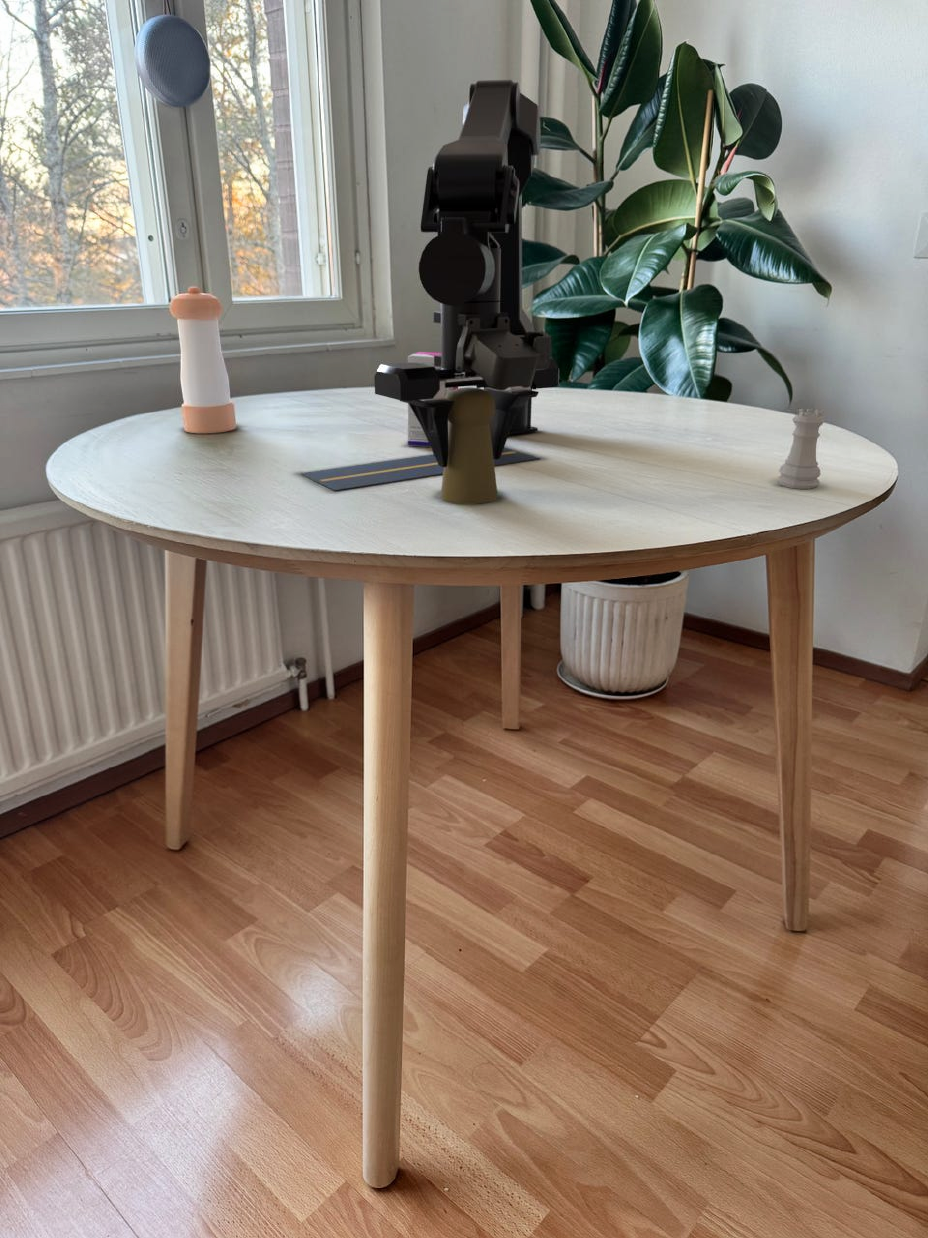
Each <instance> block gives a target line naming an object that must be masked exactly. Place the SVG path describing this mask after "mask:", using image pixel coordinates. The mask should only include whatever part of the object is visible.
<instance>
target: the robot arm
mask: <svg viewBox="0 0 928 1238" xmlns="http://www.w3.org/2000/svg"><path fill="white" fill-rule="evenodd" d="M469 85H470V86H469V96H468V101H467V102H466V103H465V105H464V106H463V111H462V112H463V113H462V114H463V115H462V127H461V130H460V134H459V136H458V137H459V138H458V139H457V140H454V141H451V142H448V143H446V144H443V145H442V146H441V147H440V149H439V150H438V152H437V153H436V155H435V157H434V160H433V165H432V166H429V167H428V168H427V174H426V181H425V188H424V195H423V204H422V212H421V218H420V219H421V220H420V232H421V233H424V234H437V235H436V236H434V237H433V238H431V239H430V240H429V242H428V243H426V245H425V247H424V249H423V250H422V252H421V255H420V259H419V262H418V275H419V280H420V283H421V285H422V287H423V289H424V291H425V292H426V293H427V295H428V296H429V297H431V298H432V300H434V301H436V302H438V303H440V310H439V311H433V323H434V324H440V353H441V355H436V356H434V366H437V367H441V369H435V367H433V366H428V365H422V364H417V363H411V362H410V363H408V362H400V363H399V362H397V363H395V362H394V363H382V364H380V365H379V366H378V368H377V370H376V372H375V374H374V379H373V380H374V381H373V382H374V394H375V395H378V396H382V397H385V398H390V399H393V400H397V401H399V402H402V403H406V404H407V405H408V404H409V406H410V407H411V409H412V411H413V412H414V414H415V416H416V418H417V419H418V421H419V423H420V425H421V427H422V429H423V431H424V433H425V435H426V438H427V440H428V442H429V444H430V447H429V448H430V449H431V451H432V453H433V454H434V456H435V458H436V460H437V462H438V465H439V466H441V467H447V464H448V452H449V451H448V414H449V412H450V410H451V408H452V406H453V404H454V401H453V400H449V399H445V388H450V387H458V388H463V387H473V386H476V387H475V388H480V389H484V390H487V391H489V392H490V393H491V394H492V395H493V397H494V400H495V412H494V415H493V418H492V419H491V421H490V422H489V424H490V432H491V441H492V450H493V459H495V460H498V459H500V457H501V454H502V452H503V449H504V447H505V446H506V443H507V441H508V438H509V436H512V435H519V434H520V435H521V434H527V433H536V432H538V430H539V429H538V427H536V426H532V402H533V400H532V399H533V398H536V397H537V396H538V395H539V394H540V393H539V391H538V390H537V389H539V390H540V389H547V388H548V389H549V388H558V387H559V386H560V368H559V366H558V364H557V362H556V360H555V359H554V357H552V337H551V335H550V334H548V333H547V332H545V331H544V330H535V326H534V324H533V323H532V321H531V320H530V318H529V317H528V315H527V314H526V312H525V310H524V309H523V201H522V200H523V192H524V190H525V188H526V186H527V184H528V182H529V181H530V179H531V177H532V174H533V171H534V167H535V165H536V164H535V163H536V156H540V152H541V136H542V135H541V134H542V133H541V130H542V129H541V117H540V116H541V115H540V110H539V105H538V104H537V103H536V102H534V101H533V100H531V99H530V98H528V97H527V96H526V95H525V94H524V93H521V90H520V88H521V87H520V83H519V82H518V81H517V82H516V81H515V82H514V81H513V79H485V80H484V79H483V80H476V82H475V83H470V84H469Z"/></svg>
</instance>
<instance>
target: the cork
mask: <svg viewBox="0 0 928 1238" xmlns="http://www.w3.org/2000/svg"><path fill="white" fill-rule="evenodd" d="M445 399H449V400H453V401H454V404H453V406H452V408H451V410H450V412H449V414H448V421H449V430H448V451H449V452H448V464H447V467H444V471H443V474H442V480H441V489H440V496H439V497H440V498H441V500H444V501H445V502H449V503H452V504H462V505H477V504H486V503H491V502H492V501H495V500H496V499H498V496H499V495H498V487H497V486H498V485H497V477H496V469H495V468H496V467H495V466H494V459H493V450H492V441H491V432H490V424H489V422H490V421H491V419H492V418H493V415H494V412H495V400H494V397H493V395H492V394H491V393H490V392H489V391H487V390H484V388H477V387H473V386H465V387H458V389H455V390H452V391H450V392H448V394H447V396H446V397H445Z"/></svg>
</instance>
